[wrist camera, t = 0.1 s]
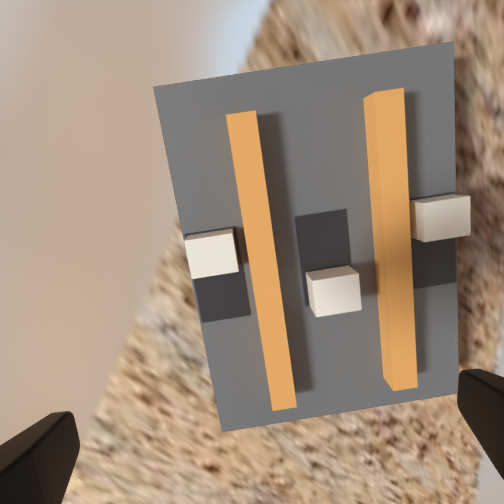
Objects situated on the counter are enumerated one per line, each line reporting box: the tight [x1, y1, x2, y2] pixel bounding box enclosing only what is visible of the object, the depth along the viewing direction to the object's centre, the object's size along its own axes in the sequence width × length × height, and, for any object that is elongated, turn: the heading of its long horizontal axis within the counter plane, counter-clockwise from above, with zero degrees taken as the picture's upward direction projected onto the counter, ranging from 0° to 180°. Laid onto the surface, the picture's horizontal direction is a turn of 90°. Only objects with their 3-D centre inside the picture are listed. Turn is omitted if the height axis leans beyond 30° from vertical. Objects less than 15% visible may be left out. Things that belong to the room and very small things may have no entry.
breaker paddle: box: [306, 265, 362, 317], centre depth 18 cm, size 2×2×2 cm
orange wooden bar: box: [226, 110, 297, 411], centre depth 18 cm, size 16×1×1 cm, turn 9°
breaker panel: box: [153, 41, 471, 432], centre depth 20 cm, size 20×15×5 cm
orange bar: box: [363, 88, 418, 391], centre depth 18 cm, size 16×1×1 cm, turn 9°
